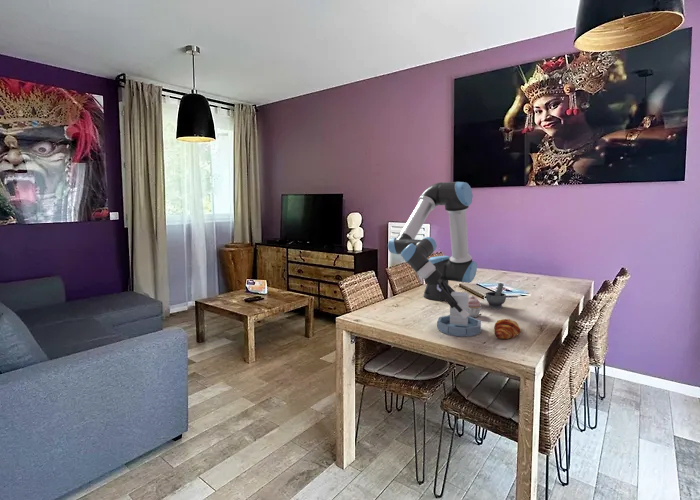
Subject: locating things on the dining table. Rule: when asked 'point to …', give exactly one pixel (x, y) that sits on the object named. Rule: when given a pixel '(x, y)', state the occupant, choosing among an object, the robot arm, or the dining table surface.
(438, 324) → the octagonal dish
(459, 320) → the supplement box
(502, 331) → the croissant
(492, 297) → the mortar and pestle
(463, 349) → the dining table surface
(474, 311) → the cupcake
